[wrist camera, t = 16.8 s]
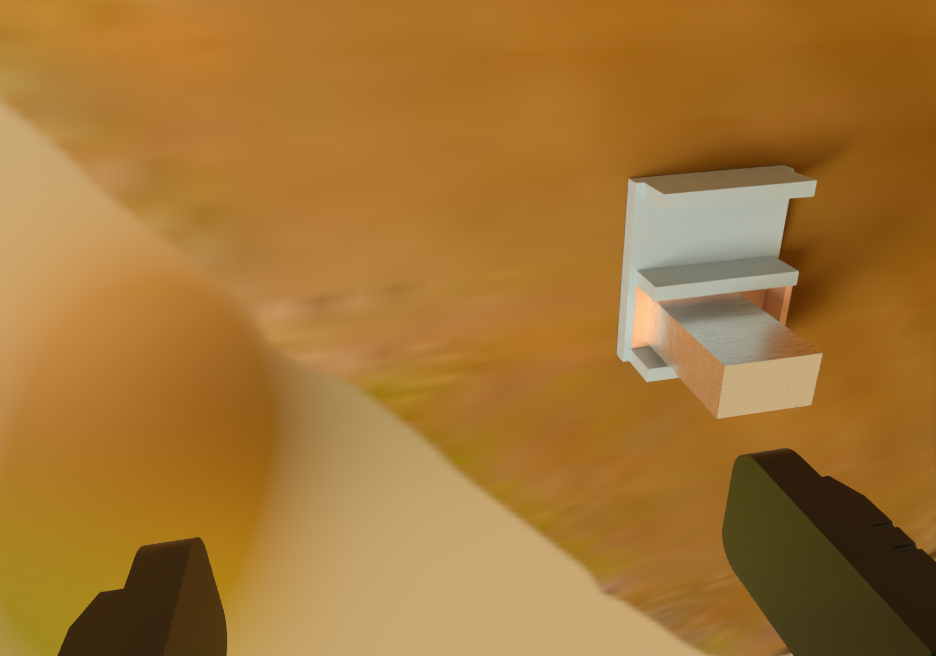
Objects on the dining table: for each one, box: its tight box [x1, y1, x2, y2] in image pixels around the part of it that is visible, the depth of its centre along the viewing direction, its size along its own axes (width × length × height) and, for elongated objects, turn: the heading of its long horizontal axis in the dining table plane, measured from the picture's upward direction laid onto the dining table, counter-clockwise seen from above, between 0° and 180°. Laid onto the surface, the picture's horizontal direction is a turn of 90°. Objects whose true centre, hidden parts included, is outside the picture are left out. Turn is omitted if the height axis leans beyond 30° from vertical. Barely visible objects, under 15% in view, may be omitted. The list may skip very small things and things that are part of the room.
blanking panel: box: [645, 292, 823, 419], centre depth 43 cm, size 6×4×10 cm, turn 92°
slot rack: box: [617, 165, 817, 382], centre depth 45 cm, size 11×13×4 cm
